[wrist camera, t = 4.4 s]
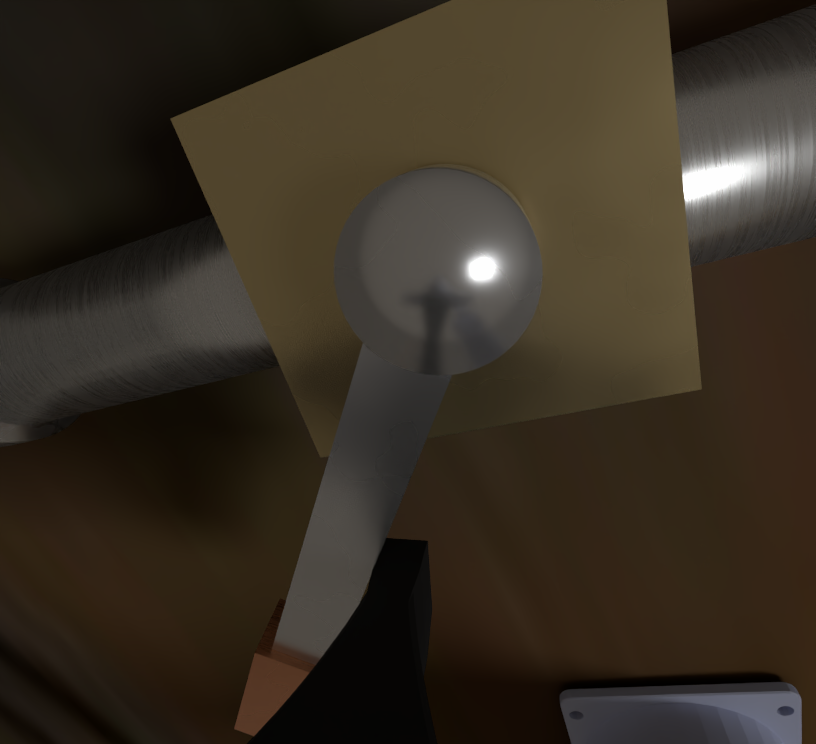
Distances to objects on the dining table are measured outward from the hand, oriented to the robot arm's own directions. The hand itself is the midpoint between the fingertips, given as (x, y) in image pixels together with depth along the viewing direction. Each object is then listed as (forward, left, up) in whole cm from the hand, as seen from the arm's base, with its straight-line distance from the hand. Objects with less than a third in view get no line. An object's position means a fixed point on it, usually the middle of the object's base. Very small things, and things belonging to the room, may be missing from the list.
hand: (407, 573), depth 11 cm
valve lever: (+2, +1, 0) cm, 2 cm away
